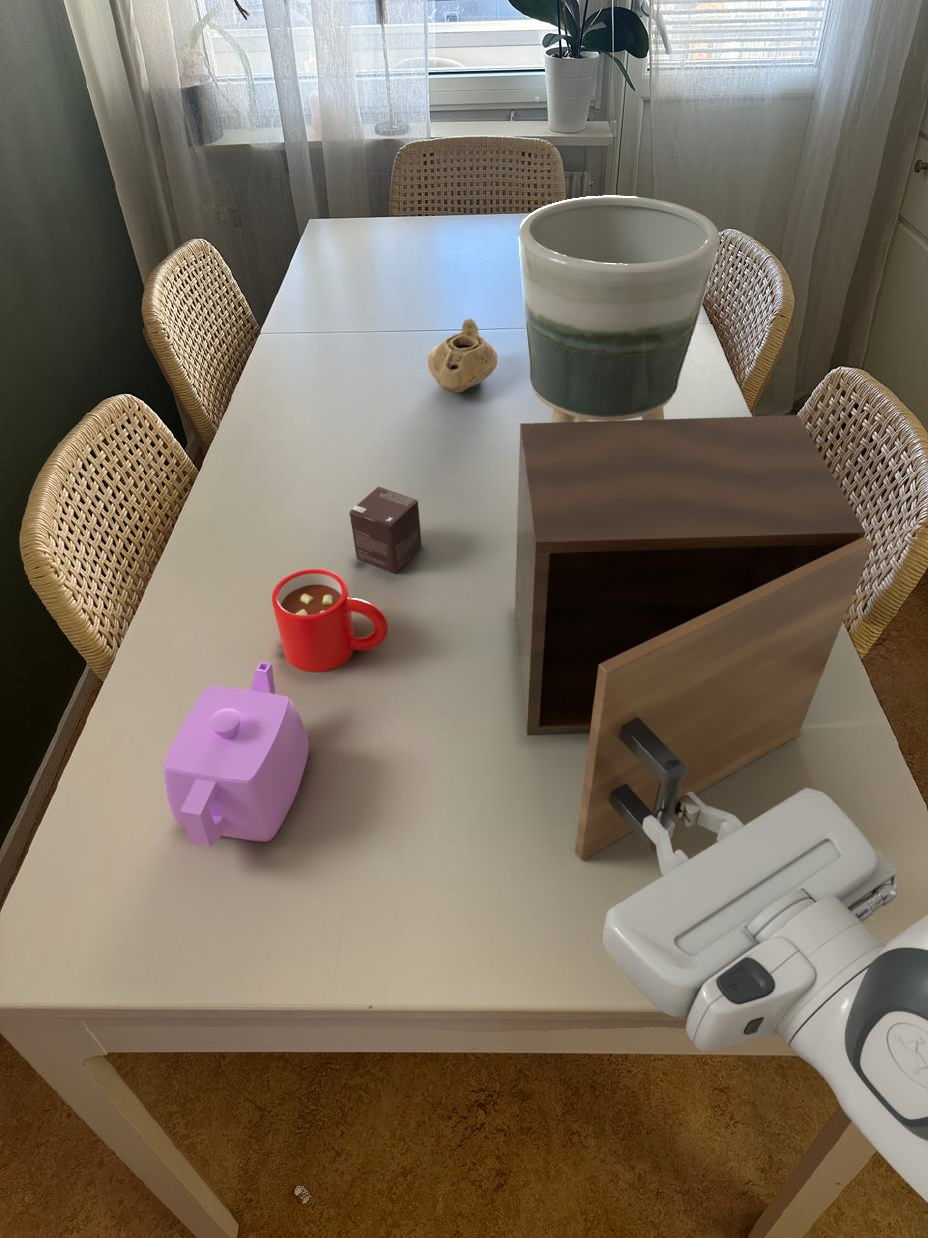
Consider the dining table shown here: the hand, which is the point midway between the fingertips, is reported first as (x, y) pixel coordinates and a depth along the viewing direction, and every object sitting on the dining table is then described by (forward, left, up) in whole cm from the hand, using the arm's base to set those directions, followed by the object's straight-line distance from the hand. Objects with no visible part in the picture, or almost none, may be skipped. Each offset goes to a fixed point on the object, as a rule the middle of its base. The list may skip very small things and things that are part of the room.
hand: (665, 809), depth 65 cm
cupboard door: (-8, -7, -12) cm, 16 cm away
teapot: (+36, -12, -12) cm, 40 cm away
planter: (-3, -60, -12) cm, 62 cm away
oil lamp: (+14, -88, -12) cm, 90 cm away
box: (+24, -46, -12) cm, 53 cm away
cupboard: (-4, -26, -12) cm, 29 cm away
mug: (+29, -30, -12) cm, 43 cm away
